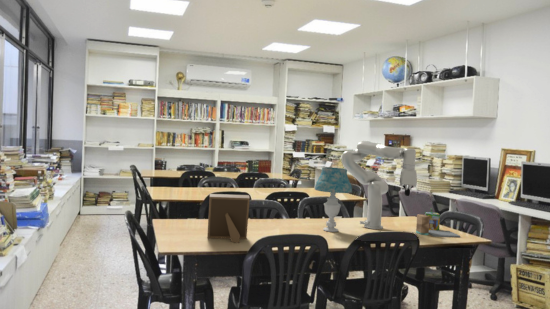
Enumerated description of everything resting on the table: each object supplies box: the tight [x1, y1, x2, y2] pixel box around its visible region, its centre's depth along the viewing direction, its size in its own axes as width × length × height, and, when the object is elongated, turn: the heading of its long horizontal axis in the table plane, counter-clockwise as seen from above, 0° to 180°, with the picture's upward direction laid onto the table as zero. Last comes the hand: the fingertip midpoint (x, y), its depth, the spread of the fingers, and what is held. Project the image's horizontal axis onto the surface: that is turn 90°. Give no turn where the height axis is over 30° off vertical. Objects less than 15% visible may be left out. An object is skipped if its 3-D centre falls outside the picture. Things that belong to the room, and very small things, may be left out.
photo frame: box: [207, 193, 251, 244], centre depth 257 cm, size 15×22×25 cm
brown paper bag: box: [415, 213, 430, 236], centre depth 305 cm, size 5×8×12 cm, turn 6°
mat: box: [428, 229, 461, 238], centre depth 307 cm, size 18×16×1 cm
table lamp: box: [314, 166, 353, 233], centre depth 298 cm, size 24×24×40 cm
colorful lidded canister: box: [424, 208, 441, 230], centre depth 321 cm, size 9×9×15 cm
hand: (407, 195), depth 303 cm, fingers closed
